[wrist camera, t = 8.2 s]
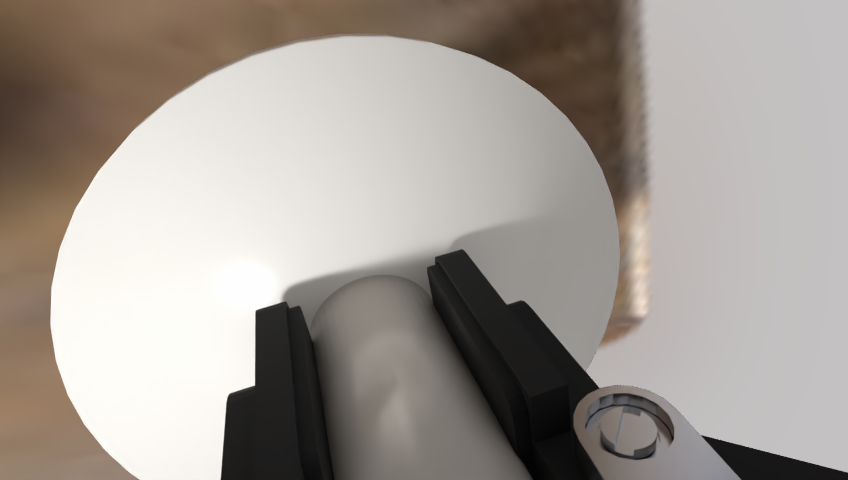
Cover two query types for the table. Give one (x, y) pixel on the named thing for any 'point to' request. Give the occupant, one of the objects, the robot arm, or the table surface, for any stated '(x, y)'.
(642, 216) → the table surface
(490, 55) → the table surface
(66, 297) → the lid
